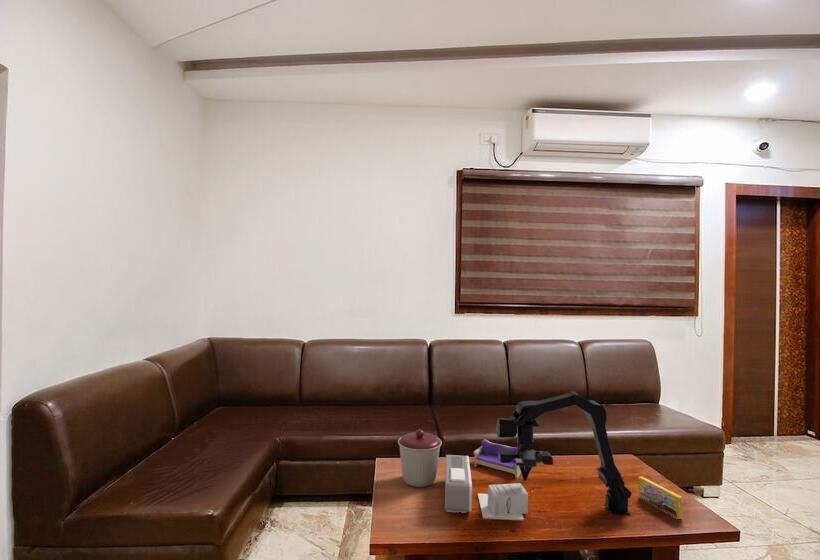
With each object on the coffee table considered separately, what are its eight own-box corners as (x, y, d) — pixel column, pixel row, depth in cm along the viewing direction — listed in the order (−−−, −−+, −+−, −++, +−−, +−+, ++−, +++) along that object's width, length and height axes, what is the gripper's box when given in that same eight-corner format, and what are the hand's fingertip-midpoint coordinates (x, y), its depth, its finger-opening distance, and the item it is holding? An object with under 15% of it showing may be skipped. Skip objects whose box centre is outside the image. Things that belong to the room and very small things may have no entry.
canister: (439, 494, 157) (440, 439, 157) (393, 489, 159) (394, 436, 160) (442, 473, 174) (443, 424, 175) (401, 469, 177) (402, 421, 178)
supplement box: (528, 514, 143) (494, 517, 141) (519, 501, 150) (486, 503, 148) (529, 494, 143) (494, 496, 141) (520, 482, 150) (487, 484, 148)
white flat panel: (514, 496, 156) (514, 495, 156) (523, 520, 140) (523, 518, 140) (477, 494, 157) (477, 493, 157) (482, 518, 141) (483, 516, 141)
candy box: (637, 498, 157) (638, 476, 157) (642, 497, 158) (642, 475, 158) (678, 521, 142) (678, 497, 142) (682, 519, 142) (682, 496, 142)
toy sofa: (472, 466, 182) (473, 443, 182) (480, 459, 189) (481, 437, 190) (518, 479, 170) (518, 455, 171) (524, 472, 178) (525, 448, 178)
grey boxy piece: (471, 518, 141) (472, 483, 141) (444, 516, 142) (445, 482, 142) (467, 481, 168) (468, 452, 168) (445, 479, 169) (445, 450, 169)
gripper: (503, 444, 141) (502, 490, 140) (558, 447, 140) (557, 492, 139) (498, 433, 152) (497, 475, 152) (548, 435, 151) (548, 477, 151)
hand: (524, 480), depth 148 cm, fingers closed
